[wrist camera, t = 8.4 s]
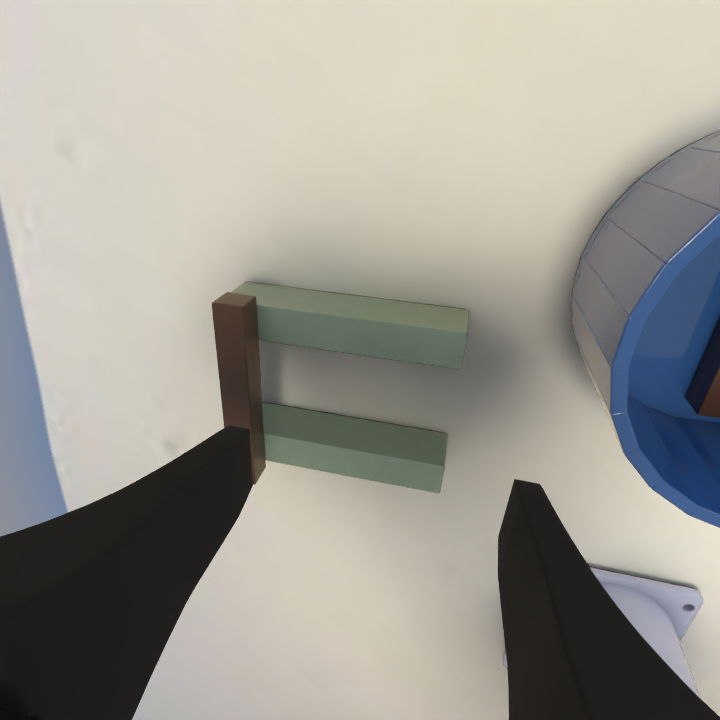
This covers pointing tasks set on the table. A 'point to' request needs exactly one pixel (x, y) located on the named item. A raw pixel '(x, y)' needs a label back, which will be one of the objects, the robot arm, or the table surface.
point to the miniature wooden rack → (369, 338)
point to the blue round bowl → (658, 322)
